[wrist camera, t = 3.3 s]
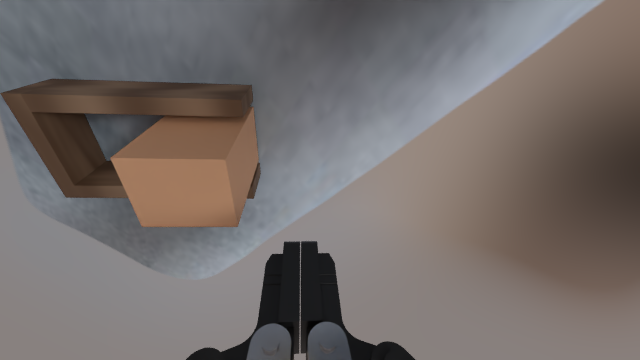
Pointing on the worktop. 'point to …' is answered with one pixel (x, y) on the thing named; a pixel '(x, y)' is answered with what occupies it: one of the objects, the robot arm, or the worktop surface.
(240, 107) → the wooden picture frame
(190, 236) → the worktop surface
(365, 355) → the robot arm
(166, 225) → the block
